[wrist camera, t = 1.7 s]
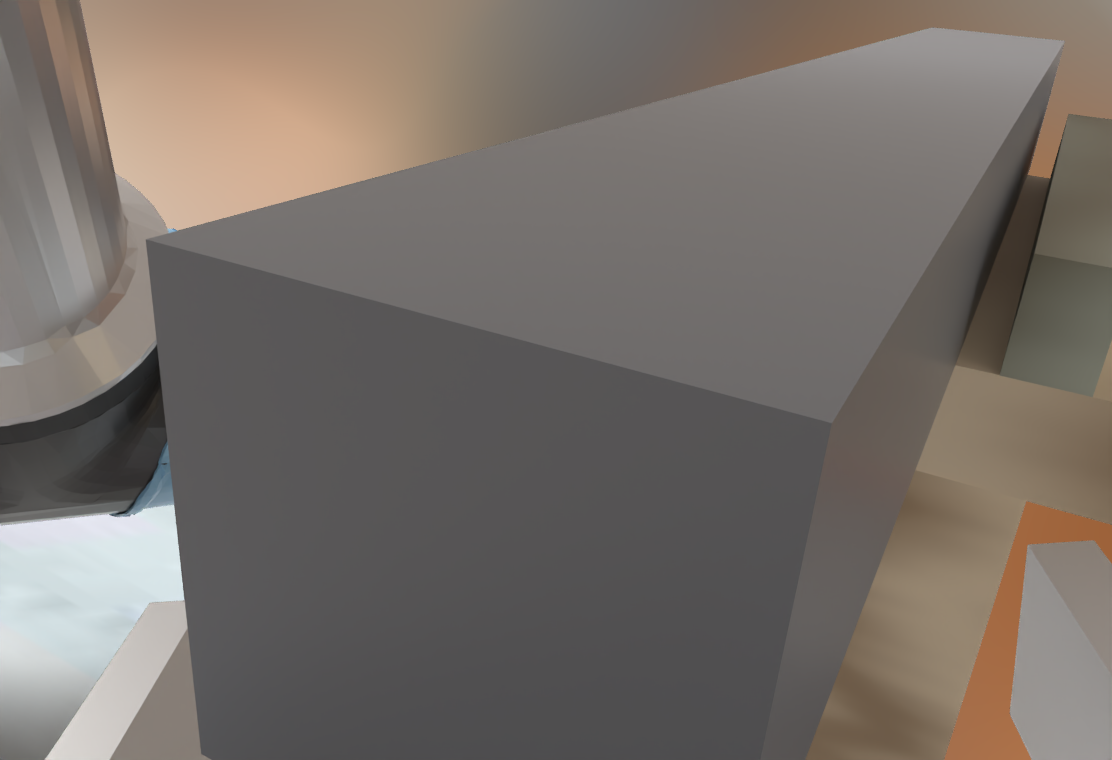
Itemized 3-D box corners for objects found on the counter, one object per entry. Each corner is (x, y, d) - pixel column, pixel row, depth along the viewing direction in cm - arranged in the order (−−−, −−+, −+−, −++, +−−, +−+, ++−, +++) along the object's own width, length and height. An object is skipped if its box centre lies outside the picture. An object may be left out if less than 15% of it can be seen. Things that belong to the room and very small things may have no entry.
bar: (201, 753, 5) (144, 239, 4) (905, 149, 25) (932, 27, 24) (703, 1027, 4) (830, 424, 3) (1029, 168, 24) (1065, 40, 23)
